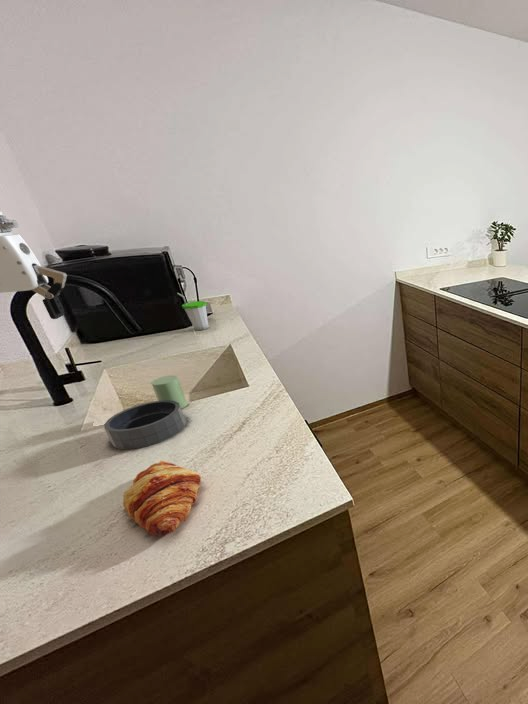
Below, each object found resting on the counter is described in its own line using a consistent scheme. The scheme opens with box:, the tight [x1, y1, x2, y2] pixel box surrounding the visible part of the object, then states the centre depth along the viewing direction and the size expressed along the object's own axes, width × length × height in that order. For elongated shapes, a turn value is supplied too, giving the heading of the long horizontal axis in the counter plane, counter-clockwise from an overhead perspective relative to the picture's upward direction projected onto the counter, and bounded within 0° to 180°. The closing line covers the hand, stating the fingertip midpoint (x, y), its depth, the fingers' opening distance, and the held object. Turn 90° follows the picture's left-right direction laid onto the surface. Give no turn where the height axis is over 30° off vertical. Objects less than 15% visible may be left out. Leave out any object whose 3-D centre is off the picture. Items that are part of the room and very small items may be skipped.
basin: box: [103, 400, 187, 450], centre depth 82 cm, size 13×13×5 cm
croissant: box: [122, 460, 202, 536], centre depth 63 cm, size 21×10×8 cm, turn 42°
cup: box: [176, 292, 210, 331], centre depth 147 cm, size 8×8×15 cm
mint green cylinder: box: [150, 375, 188, 410], centre depth 91 cm, size 5×5×8 cm
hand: (24, 320), depth 73 cm, fingers open, 9 cm apart
